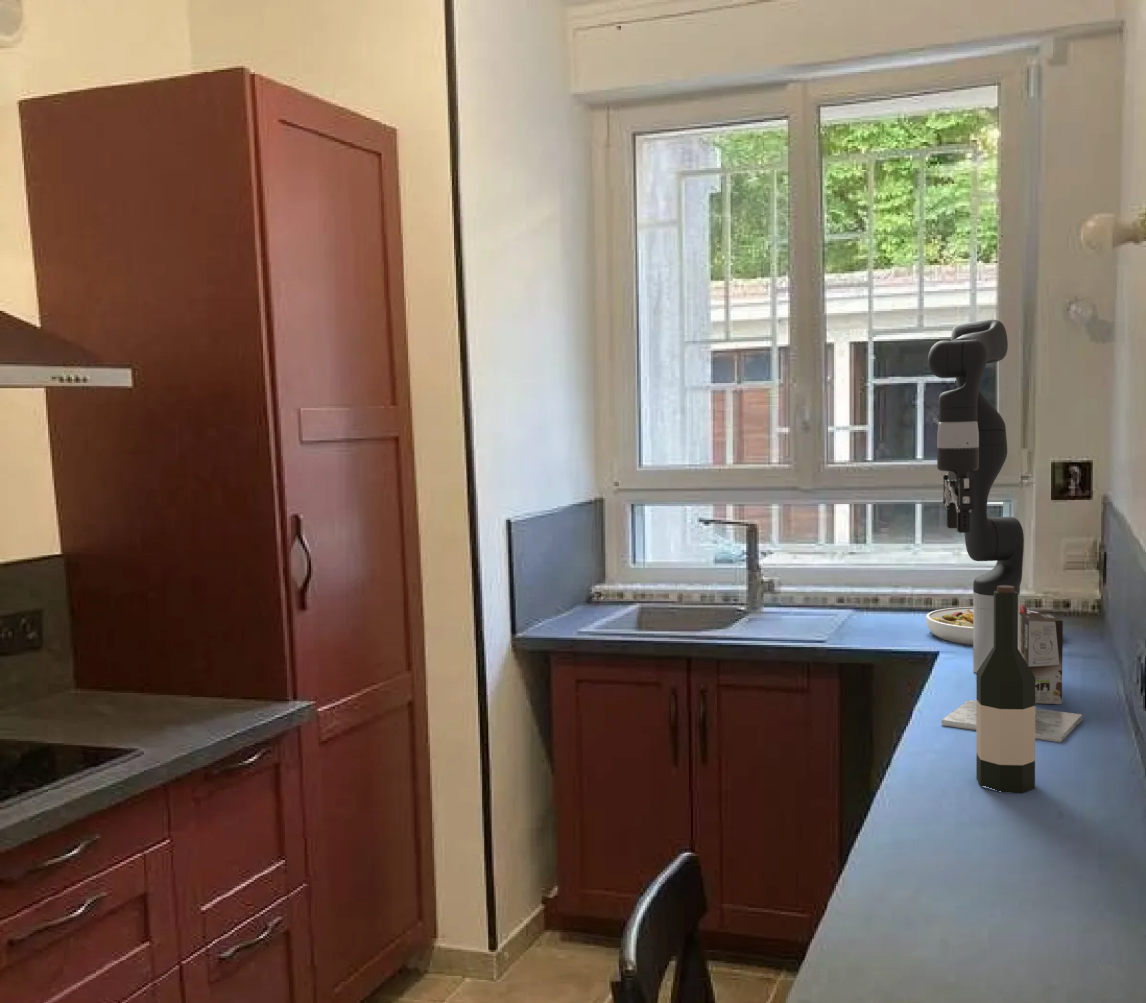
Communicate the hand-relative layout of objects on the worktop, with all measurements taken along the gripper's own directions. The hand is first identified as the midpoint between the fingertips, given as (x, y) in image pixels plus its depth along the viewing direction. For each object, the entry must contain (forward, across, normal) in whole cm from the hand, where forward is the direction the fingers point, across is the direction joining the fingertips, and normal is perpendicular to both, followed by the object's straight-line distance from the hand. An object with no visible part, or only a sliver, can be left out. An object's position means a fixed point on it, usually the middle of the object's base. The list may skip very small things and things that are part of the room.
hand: (957, 530), depth 212 cm
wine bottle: (+33, -50, +4) cm, 60 cm away
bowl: (+34, +61, -22) cm, 73 cm away
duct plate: (+33, -16, -6) cm, 37 cm away
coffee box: (+33, +1, -16) cm, 37 cm away
